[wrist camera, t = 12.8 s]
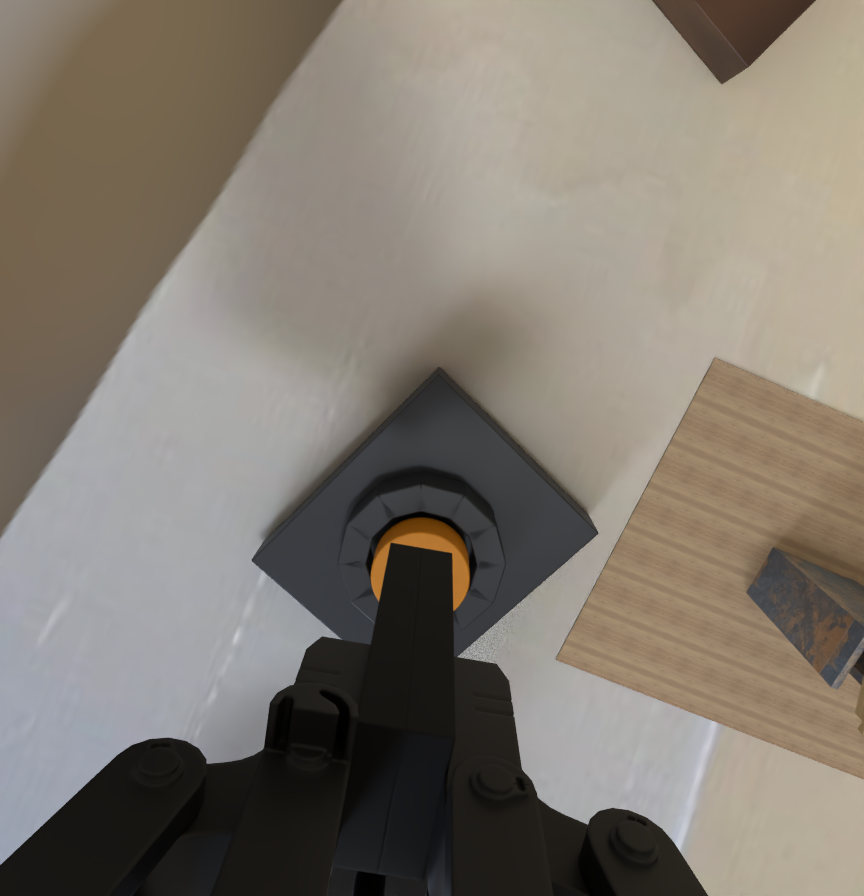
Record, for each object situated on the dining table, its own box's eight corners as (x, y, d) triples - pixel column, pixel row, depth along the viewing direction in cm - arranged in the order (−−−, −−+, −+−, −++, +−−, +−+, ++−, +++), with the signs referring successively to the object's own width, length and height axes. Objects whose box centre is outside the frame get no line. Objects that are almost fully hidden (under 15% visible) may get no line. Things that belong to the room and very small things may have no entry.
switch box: (263, 541, 33) (238, 578, 29) (439, 366, 31) (438, 381, 27) (411, 672, 35) (406, 723, 31) (589, 515, 33) (608, 550, 29)
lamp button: (355, 560, 30) (349, 578, 28) (421, 497, 29) (419, 512, 27) (422, 620, 30) (420, 641, 28) (488, 561, 29) (490, 579, 28)
